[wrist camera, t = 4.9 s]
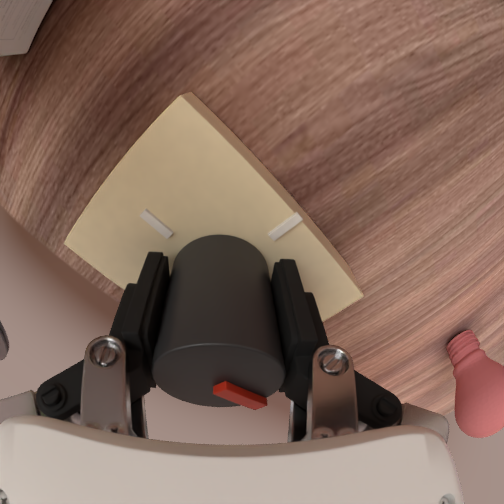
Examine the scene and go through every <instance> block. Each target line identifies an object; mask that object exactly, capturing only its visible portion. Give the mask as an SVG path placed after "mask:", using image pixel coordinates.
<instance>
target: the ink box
mask: <svg viewBox="0 0 504 504" xmlns="http://www.w3.org/2000/svg"><path fill="white" fill-rule="evenodd" d="M52 1H53V0H0V56H8V55H17V54H25V53H27V52H28V50H29V47H30V45H31V42H32V40H33V38H34V36H35V34H36V32H37V29H38V27H39V25H40V23H41V21H42V19H43V17H44V16H45V14H46V12H47V10H48V8H49V6H50V4H51V3H52Z"/></svg>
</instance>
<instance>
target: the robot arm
mask: <svg viewBox="0 0 504 504" xmlns="http://www.w3.org/2000/svg"><path fill="white" fill-rule="evenodd" d="M169 279H170V274H169V262H168V256H164V255H163V252H151V251H149V252H148V254H147V257H146V259H145V262H144V265H143V267H142V270H141V273H140V275H139V278H138V281H137V284H135V283H128V284H127V286H126V288H125V291H124V293H123V296H122V299H121V302H120V304H119V307H118V310H117V313H116V316H115V319H114V322H113V325H112V328H111V331H110V334H109V336H107V335H105V336H100V337H98V338H96V339H94V340H92V341H91V342H90V343H89V345H88V346H87V348H86V351H85V357H84V359H83V360H82V361H80V362H78V363H77V364H75V365H73V366H71V367H70V368H68V369H66V370H64V371H63V372H61V373H60V374H57V375H56V376H54V377H52V378H50V379H49V380H47V381H45V382H44V383H43V384H41V385H40V387H39V388H38V390H37V392H33V391H32V390H30V391H27V392H24V393H21V394H18V395H15V396H11V397H8V398H5V399H1V400H0V504H464V499H463V494H462V489H461V484H460V480H459V476H458V473H457V470H456V466H455V463H454V460H453V458H452V455H451V452H450V450H449V448H448V446H447V441H448V434H449V424H448V421H447V419H446V418H445V417H444V416H442V415H441V414H438V413H435V412H432V411H429V410H426V409H423V408H420V407H417V406H414V405H411V404H409V403H405V404H401V403H400V401H399V399H398V398H397V397H396V396H395V395H394V394H393V393H391V392H389V391H388V390H386V389H384V388H383V387H381V386H379V385H378V384H376V383H374V382H373V381H371V380H370V379H368V378H366V377H365V376H363V375H361V374H360V373H358V372H357V371H355V370H354V365H353V360H352V357H351V356H350V354H349V353H348V352H347V351H346V350H344V349H343V348H341V347H339V346H335V345H329V343H328V339H327V336H326V333H325V329H324V326H323V323H322V320H321V316H320V313H319V310H318V307H317V304H316V301H315V297H314V295H313V293H312V292H304V288H303V285H302V281H301V278H300V275H299V272H298V268H297V265H296V262H295V260H294V259H280V260H279V262H275V263H274V268H273V273H272V277H271V288H272V294H273V299H274V305H275V311H276V317H277V323H278V329H279V334H280V340H281V346H282V352H283V358H284V365H285V371H286V377H285V381H284V383H283V385H282V386H281V387H280V388H279V392H285V394H286V397H288V398H289V399H291V406H290V419H289V432H288V443H278V444H260V445H209V444H191V443H179V442H169V441H160V440H153V439H148V431H147V421H146V413H145V412H146V411H145V400H144V395H145V394H147V393H148V392H150V387H153V388H156V383H155V381H154V380H153V377H152V374H151V366H152V361H153V355H154V350H155V344H156V339H157V334H158V329H159V324H160V319H161V314H162V310H163V305H164V301H165V296H166V292H167V287H168V283H169Z"/></svg>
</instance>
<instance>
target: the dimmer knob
mask: <svg viewBox="0 0 504 504" xmlns="http://www.w3.org/2000/svg"><path fill="white" fill-rule="evenodd" d="M151 374H152V377H153V380H154V381H155V383H156V384H157V385H158V386H159V387H160V388H161V389H162V390H163V391H165V392H166V393H167V394H169V395H171V396H173V397H175V398H177V399H180V400H182V401H186V402H189V403H193V404H197V405H203V406H212V407H232V406H240V405H242V406H245V407H248V408H251V409H253V410H256V409H259V408H262V407H264V406H267V397H268V396H270V395H272V394H273V393H275V392H276V391H277V390H278V389H279V388H280V387H281V386H282V385H283V383H284V381H285V377H286V371H285V365H284V358H283V352H282V346H281V340H280V334H279V329H278V323H277V317H276V311H275V305H274V299H273V294H272V288H271V282H270V276H269V271H268V266H267V262H266V260H265V258H264V256H263V255H262V254H261V252H260V251H259V250H258V249H257V248H256V247H255V246H253V245H252V244H250V243H249V242H247V241H245V240H243V239H241V238H238V237H235V236H230V235H221V234H219V235H208V236H204V237H200V238H198V239H195V240H193V241H192V242H190V243H188V244H187V245H186V246H184V247H183V248H182V249H181V250H180V251H179V253H178V254H177V256H176V258H175V260H174V263H173V267H172V271H171V275H170V279H169V283H168V287H167V292H166V296H165V301H164V305H163V310H162V314H161V319H160V324H159V329H158V334H157V339H156V344H155V350H154V355H153V361H152V366H151Z"/></svg>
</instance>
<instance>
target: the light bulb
mask: <svg viewBox="0 0 504 504" xmlns="http://www.w3.org/2000/svg"><path fill="white" fill-rule="evenodd" d="M479 345H480V343H479V342H478V339H477V338H476V337H475V334H474V333H473V331H472V330H467V331H464V332H462V333H460V334H459V335H457V336H455V337H454V338H453V339H452V340H451V341H450V343H449V344H448V346H447V352H448V354H449V356H450V357H449V358H450V360H451V362H452V364H453V366H454V370H453V376H454V377H455V379H456V393H455V418H456V422H457V424H458V426H459V428H460V429H461V430H462V431H463V432H464V433H465V434H467V435H468V436H471V437H475V438H483V437H488V436H491V435H493V434H495V433H497V432H498V431H499V430H501V429H502V428H503V427H504V366H502V365H501V364H499V363H497V362H495V361H493V360H492V359H490V358H488V357H487V356H486V354H485V351H484V350H482V349H480V348H479Z"/></svg>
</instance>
